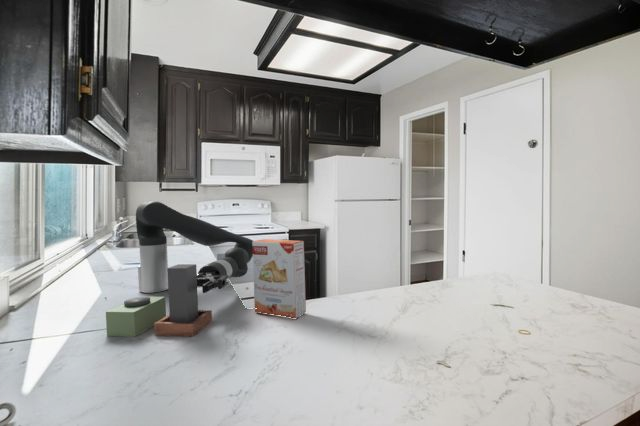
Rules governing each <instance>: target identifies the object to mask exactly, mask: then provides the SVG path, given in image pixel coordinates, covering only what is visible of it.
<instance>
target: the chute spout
mask: <svg viewBox="0 0 640 426" xmlns="http://www.w3.org/2000/svg"><path fill="white" fill-rule="evenodd" d="M167 272H168V289H167V290H168V310H169V311H168V312H169V313H168V315H169V316H170V322H192V321H194V320H195V319H197V318H198V310H199V298H198V296H199V294H198V293H199V292H198V287H197V264H196V263H195V264H194V263H193V264H192V263H191V264H185V263H184V264H183V263H181V264H180V263H179V264H175V265H173V266H170V267H169V266H168V268H167Z"/></svg>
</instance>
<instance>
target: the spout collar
mask: <svg viewBox="0 0 640 426" xmlns="http://www.w3.org/2000/svg"><path fill="white" fill-rule="evenodd" d="M212 322H213V311H212V310H210V309H209V310H206V309H205V310H204V309H198V318H197V319H195V320H194V321H192V322H170V316H169V314H166V317H164V318H162V319H161V320H159V321H157V322H156V323H154V326H153V327H154V336H158V337H159V336H160V337H161V336H164V337H195V336H196V335H197V334H198V333H200V332H201V331H202V330H203V329H205V328H206V327H207V326H208V325H210V324H211V323H212Z"/></svg>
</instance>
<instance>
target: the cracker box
mask: <svg viewBox="0 0 640 426" xmlns="http://www.w3.org/2000/svg"><path fill="white" fill-rule="evenodd" d="M252 247H253V256H252V265H253V266H252V267H253V268H252V270H253V297H254V298H253V299H254V313H255V312H261V313H267V314H274V315H281V316H286V317H291V318H297V317H299V316H300V315H302V314H304V313H305V312H307V311H306V310H307V307H306V304H307V303H306V301H307V300H306V274H305V271H306V269H305V268H306V267H305V265H306V264H305V241H304V240H293V239H292V240H289V239H271V238H270V239H269V238H263V239H256V240H253V242H252ZM255 308H257V309H255ZM305 314H306V313H305ZM305 314H304V315H305ZM302 316H303V315H302ZM300 317H301V316H300ZM300 317H299V318H300ZM297 319H298V318H297Z"/></svg>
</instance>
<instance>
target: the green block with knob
mask: <svg viewBox="0 0 640 426" xmlns="http://www.w3.org/2000/svg"><path fill="white" fill-rule="evenodd" d="M166 302H167V301H166V296H138V297H132V298H129V299H126V300H124V303H122V304H120V305H118V306H115V307H114V308H111V309H109V310H107V311H105V322H106V336H107V337H129V338H131V337H133V338H134V337H137V336H139V335H140V334H142V333H143V332H146V331H147V330H149V329H150V328H152V327H154V323H156V322H157V321H159V320H161V319H162V318H164V317H166V316H167V309H166V308H167V306H166Z"/></svg>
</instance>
